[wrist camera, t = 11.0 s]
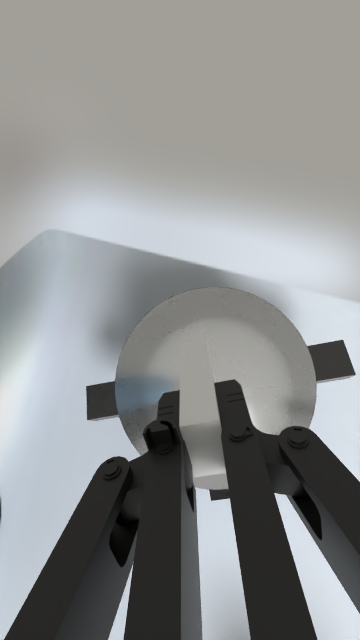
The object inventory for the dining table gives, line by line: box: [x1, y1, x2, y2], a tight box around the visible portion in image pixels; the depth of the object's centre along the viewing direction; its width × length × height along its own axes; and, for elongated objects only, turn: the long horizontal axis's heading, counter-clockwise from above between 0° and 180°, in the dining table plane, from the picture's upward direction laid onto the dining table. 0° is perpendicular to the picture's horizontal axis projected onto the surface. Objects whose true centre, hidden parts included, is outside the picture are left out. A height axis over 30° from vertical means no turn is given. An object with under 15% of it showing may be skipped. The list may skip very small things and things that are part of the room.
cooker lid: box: [115, 287, 316, 501], centre depth 25 cm, size 16×17×1 cm
